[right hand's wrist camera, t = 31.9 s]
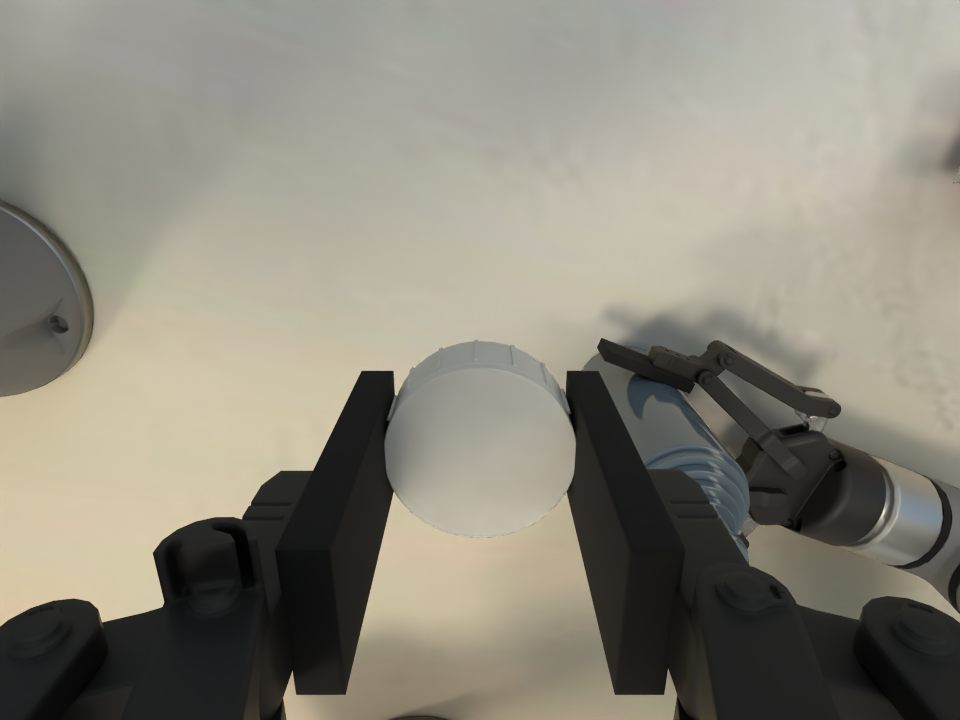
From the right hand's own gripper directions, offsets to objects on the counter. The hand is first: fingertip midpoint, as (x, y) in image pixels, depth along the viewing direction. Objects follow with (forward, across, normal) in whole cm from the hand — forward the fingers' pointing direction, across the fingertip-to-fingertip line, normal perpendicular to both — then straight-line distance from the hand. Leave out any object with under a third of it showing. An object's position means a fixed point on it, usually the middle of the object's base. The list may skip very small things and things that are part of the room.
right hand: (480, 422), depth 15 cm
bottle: (+32, +12, -13) cm, 36 cm away
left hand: (+26, +7, -11) cm, 29 cm away
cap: (-1, 0, 0) cm, 1 cm away
